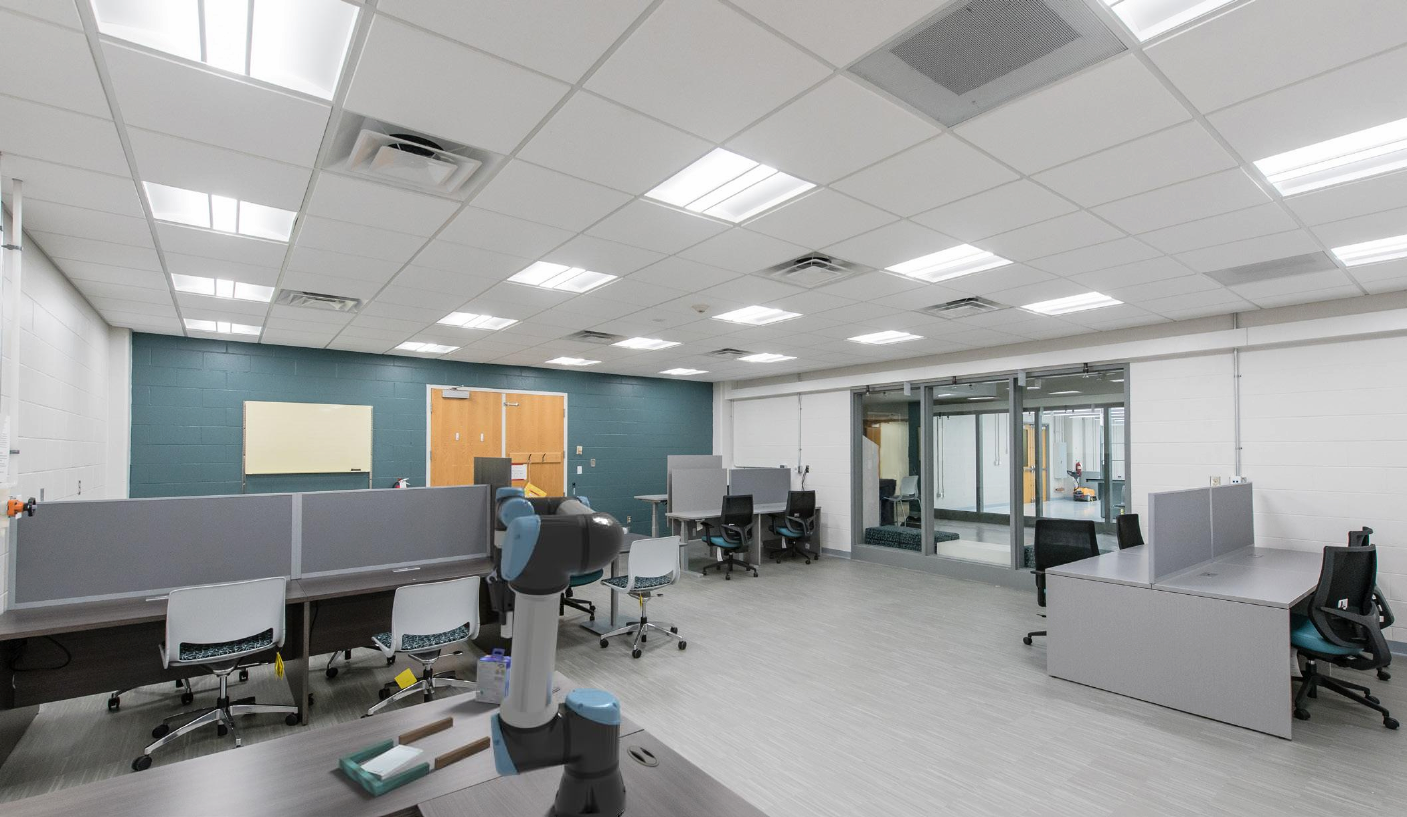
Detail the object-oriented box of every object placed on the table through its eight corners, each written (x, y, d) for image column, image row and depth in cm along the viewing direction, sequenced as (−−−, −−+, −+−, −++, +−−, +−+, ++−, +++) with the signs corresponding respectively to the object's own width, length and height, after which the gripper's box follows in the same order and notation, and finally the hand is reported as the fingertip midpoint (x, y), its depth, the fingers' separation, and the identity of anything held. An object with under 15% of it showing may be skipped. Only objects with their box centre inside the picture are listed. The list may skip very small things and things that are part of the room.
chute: (490, 746, 154) (490, 737, 154) (375, 797, 132) (376, 786, 132) (450, 724, 166) (450, 716, 166) (338, 767, 144) (339, 758, 144)
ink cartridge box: (514, 697, 184) (516, 648, 184) (505, 705, 178) (506, 655, 179) (485, 694, 186) (486, 646, 186) (474, 702, 180) (476, 652, 181)
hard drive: (381, 775, 139) (424, 749, 150) (355, 768, 142) (398, 743, 153) (381, 783, 139) (423, 756, 150) (354, 775, 141) (398, 750, 153)
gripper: (520, 541, 169) (517, 628, 168) (479, 547, 159) (476, 640, 157) (537, 544, 165) (535, 633, 163) (497, 550, 154) (494, 645, 153)
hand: (506, 636), depth 160 cm, fingers closed
